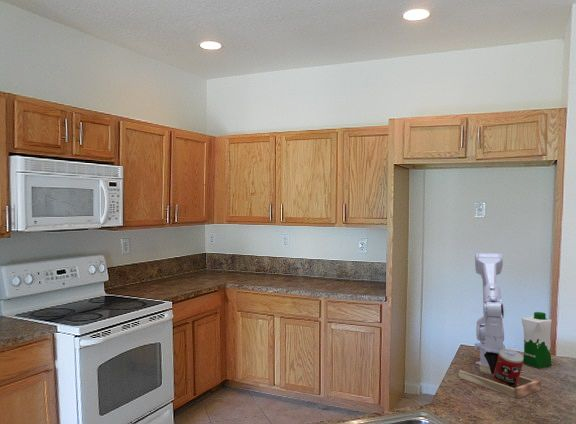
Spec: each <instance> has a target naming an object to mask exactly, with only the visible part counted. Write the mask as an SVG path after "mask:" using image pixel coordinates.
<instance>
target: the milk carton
mask: <svg viewBox="0 0 576 424" xmlns="http://www.w3.org/2000/svg"><path fill="white" fill-rule="evenodd" d="M546 315H547V314H546V313H545V312H540V311H535V312H533V316H525V317H523V318H521V323H522V327H523V364H524V365H528V366H530V367H533V368H537V369H539V370H540V369H543V368H548V367H552V352H551V351H552V350H551V348H552V347H551V331H552V329H551V328H552V321H553V320H552V319H549V318H546V317H547V316H546Z"/></svg>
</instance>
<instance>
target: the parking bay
mask: <svg viewBox="0 0 576 424" xmlns="http://www.w3.org/2000/svg"><path fill="white" fill-rule="evenodd" d="M479 372H481V373H485V374H488V375H490V376H491V375H492V376H494V375H493V374H491V370H490V367H489V366H487V365H484V364H480V365H479ZM458 378H459V379H461V380H465V381H467V382H471V383H472V384H476V385H478V386H481V387H484V388H487V389H489V390H493V391H496V392H499V393H501V394H504V395H507V396H510V397H513V398H514V399H521V398H523V397H526V396H529V395H531V394H533V393H536V392H539V391H541V390H542V380H540V379H532V378H528V377H525V376H522V375H520V376H519V380H518V384H519V385H520V386H516V387H515V388H512V387H509V386H506V385H503V384H500V383H498V382H495V381H494V380H493V379H489V378H485V377H482V376H479V375H477V374H474V373H470V372H467V371H464V370H458ZM518 384H517V385H518Z"/></svg>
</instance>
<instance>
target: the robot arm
mask: <svg viewBox="0 0 576 424" xmlns="http://www.w3.org/2000/svg"><path fill="white" fill-rule="evenodd" d="M474 266H475V273H476V274H478V275H479V276H481V279H482V302H483V303H482V313H483V316H482V317H480V318H479V319H477V321H476V326H475V327H476V329H475V330H476V331H475V333H476V340H477V341H479V342H475V343H474V349H475V350H480V352H479V353H480V360H479V361H475V364H476V365H479V366H480V364H484V365H487V366H489V367H490V370H491V374H493V375H492V376H494V371H495V367H496V362H497V358H498V354H499V351H500V350H501V349H506V347H505V344H504V341H505V329H504V323H503V319H504V316H505V307H504V303H503V299H502V295H501V288H500V286H499V285H497V276H499V275H500V274H501V272H502V271H503V267H504V266H503V254H502V253H501V252H499V253H498V252H497V253H496V252H494V253H492V252H491V253H489V252H488V253H487V252H476V253H475V254H474ZM503 353H505V354H508V355H510V356H514V355H515V353H514V352H511V351H509V352H508V351H505V352H503ZM491 374H490V375H491Z"/></svg>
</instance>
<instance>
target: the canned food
mask: <svg viewBox="0 0 576 424" xmlns="http://www.w3.org/2000/svg"><path fill="white" fill-rule="evenodd" d="M505 351H508V352H509V351H511V352H514V353H515V355H514V356H510V355H508V354H505V353H503V352H505ZM523 359H524V355H523V354H521V353H519V352H518V351H516V350H515V349H511V348H505V349H501V350H500V351H499V354H498V358H497V362H496V367H495V371H494V375H492V376H493V378H492V381H495V382H498V383H500V384H503V385H506V386H509V387H512V388H516V387H518V386H517V385H518V380H519V376H521V372H522V368H523V364H524V363H523Z"/></svg>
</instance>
